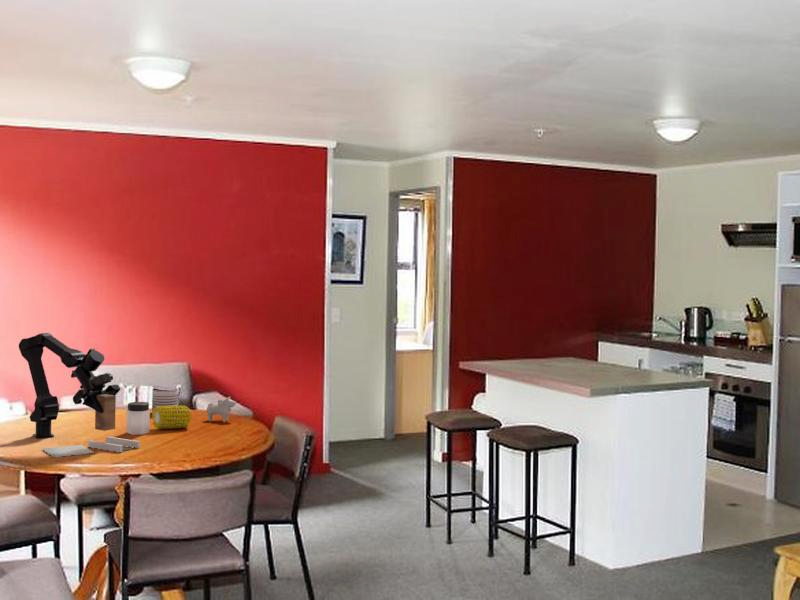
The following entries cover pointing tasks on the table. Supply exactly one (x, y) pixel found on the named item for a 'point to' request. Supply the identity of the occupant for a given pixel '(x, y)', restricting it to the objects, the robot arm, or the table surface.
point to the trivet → (67, 450)
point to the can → (164, 396)
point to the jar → (138, 418)
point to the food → (171, 417)
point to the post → (106, 412)
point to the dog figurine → (220, 408)
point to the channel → (114, 444)
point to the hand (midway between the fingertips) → (108, 411)
